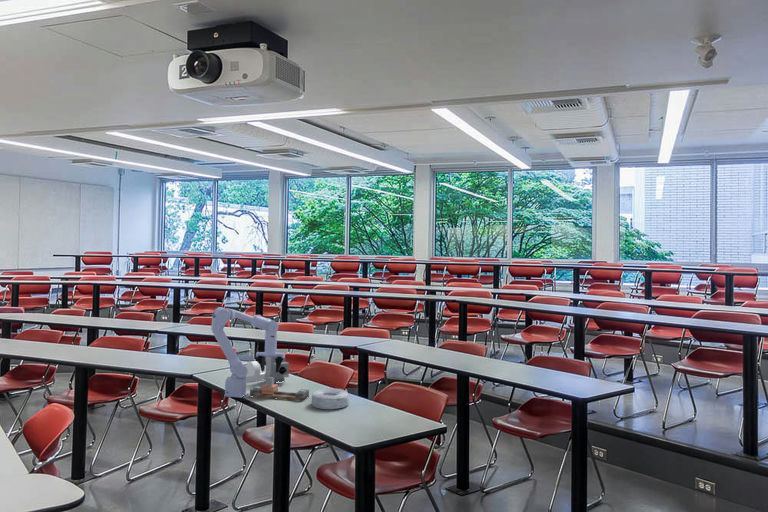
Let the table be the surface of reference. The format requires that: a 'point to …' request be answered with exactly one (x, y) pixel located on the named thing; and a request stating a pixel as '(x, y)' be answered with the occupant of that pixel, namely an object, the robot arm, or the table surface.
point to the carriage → (269, 386)
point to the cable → (330, 398)
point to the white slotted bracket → (254, 372)
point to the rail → (280, 394)
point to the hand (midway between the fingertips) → (270, 371)
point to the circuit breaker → (272, 369)
